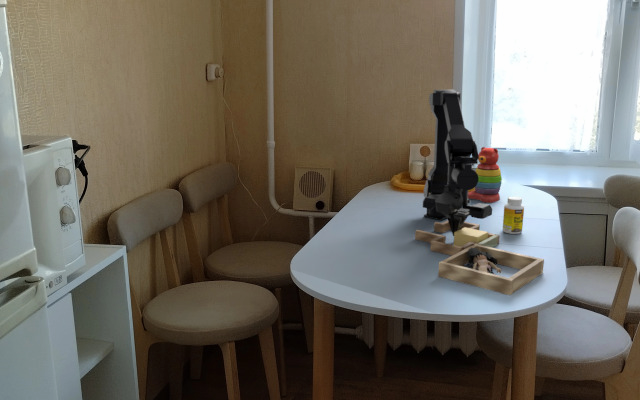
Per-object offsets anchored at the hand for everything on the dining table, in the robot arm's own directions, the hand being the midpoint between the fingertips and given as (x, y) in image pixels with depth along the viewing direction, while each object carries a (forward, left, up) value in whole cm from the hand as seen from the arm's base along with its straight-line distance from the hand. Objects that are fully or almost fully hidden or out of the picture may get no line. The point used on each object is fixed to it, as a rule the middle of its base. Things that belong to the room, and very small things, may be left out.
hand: (455, 236), depth 189 cm
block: (+5, 0, -2) cm, 5 cm away
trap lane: (+1, 0, -2) cm, 2 cm away
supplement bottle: (+9, +19, -2) cm, 20 cm away
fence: (+20, -17, -2) cm, 26 cm away
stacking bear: (-15, +50, -2) cm, 52 cm away
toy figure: (+18, -18, -2) cm, 25 cm away
